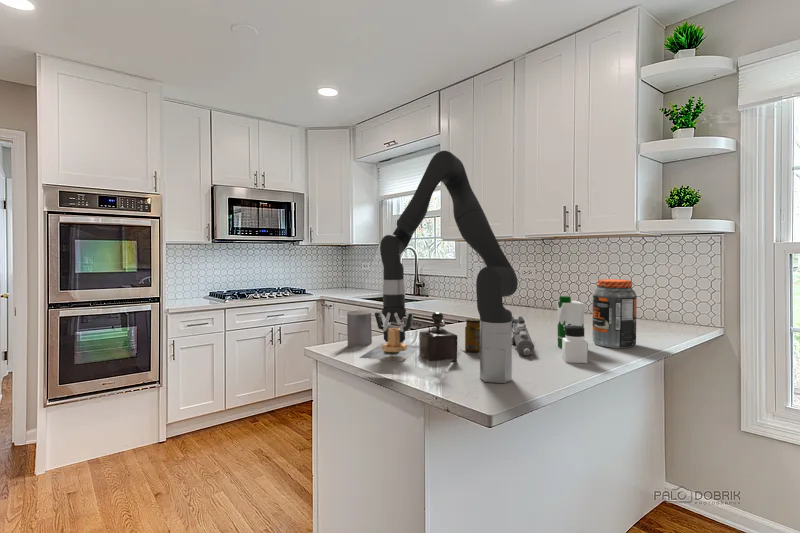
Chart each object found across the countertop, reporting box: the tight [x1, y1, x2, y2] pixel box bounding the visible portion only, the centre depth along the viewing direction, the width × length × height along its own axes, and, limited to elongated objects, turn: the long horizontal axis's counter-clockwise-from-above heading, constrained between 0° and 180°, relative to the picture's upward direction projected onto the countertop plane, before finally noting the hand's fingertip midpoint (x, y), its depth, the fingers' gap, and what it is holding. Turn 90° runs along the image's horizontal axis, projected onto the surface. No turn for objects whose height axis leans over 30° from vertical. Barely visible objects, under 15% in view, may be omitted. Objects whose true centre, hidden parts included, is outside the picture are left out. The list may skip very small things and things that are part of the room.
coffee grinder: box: [418, 311, 458, 364], centre depth 148 cm, size 16×11×18 cm
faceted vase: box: [382, 327, 408, 352], centre depth 150 cm, size 8×8×7 cm
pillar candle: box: [346, 308, 373, 349], centre depth 174 cm, size 10×10×15 cm
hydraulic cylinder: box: [512, 316, 535, 356], centre depth 170 cm, size 7×37×10 cm, turn 171°
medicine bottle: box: [561, 325, 589, 364], centre depth 149 cm, size 7×7×12 cm
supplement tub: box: [592, 278, 638, 349], centre depth 173 cm, size 16×16×26 cm
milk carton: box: [556, 295, 585, 350], centre depth 167 cm, size 9×9×20 cm
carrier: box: [359, 342, 419, 362], centre depth 159 cm, size 24×16×7 cm, turn 163°
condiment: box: [460, 318, 480, 355], centre depth 163 cm, size 7×8×12 cm
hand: (394, 341), depth 150 cm, fingers closed on faceted vase, 4 cm apart
